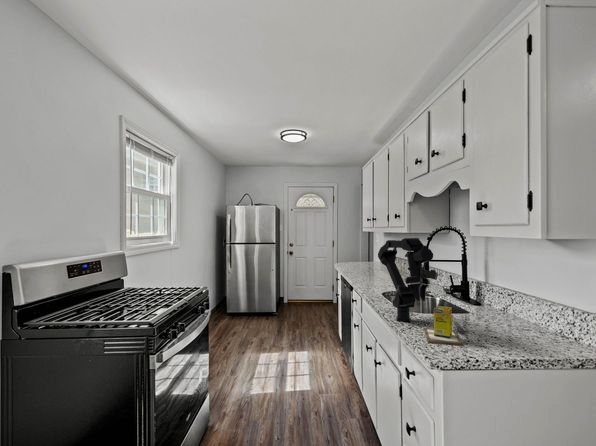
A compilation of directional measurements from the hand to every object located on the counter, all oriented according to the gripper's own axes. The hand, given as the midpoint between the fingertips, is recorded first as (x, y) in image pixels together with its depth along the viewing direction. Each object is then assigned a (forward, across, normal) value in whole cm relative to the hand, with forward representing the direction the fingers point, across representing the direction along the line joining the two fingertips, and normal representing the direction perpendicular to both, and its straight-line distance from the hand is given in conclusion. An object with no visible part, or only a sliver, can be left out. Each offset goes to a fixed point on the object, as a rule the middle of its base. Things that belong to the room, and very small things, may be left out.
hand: (421, 301), depth 141 cm
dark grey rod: (+12, +11, -12) cm, 20 cm away
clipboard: (+15, -4, -6) cm, 17 cm away
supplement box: (+14, -4, -7) cm, 16 cm away
